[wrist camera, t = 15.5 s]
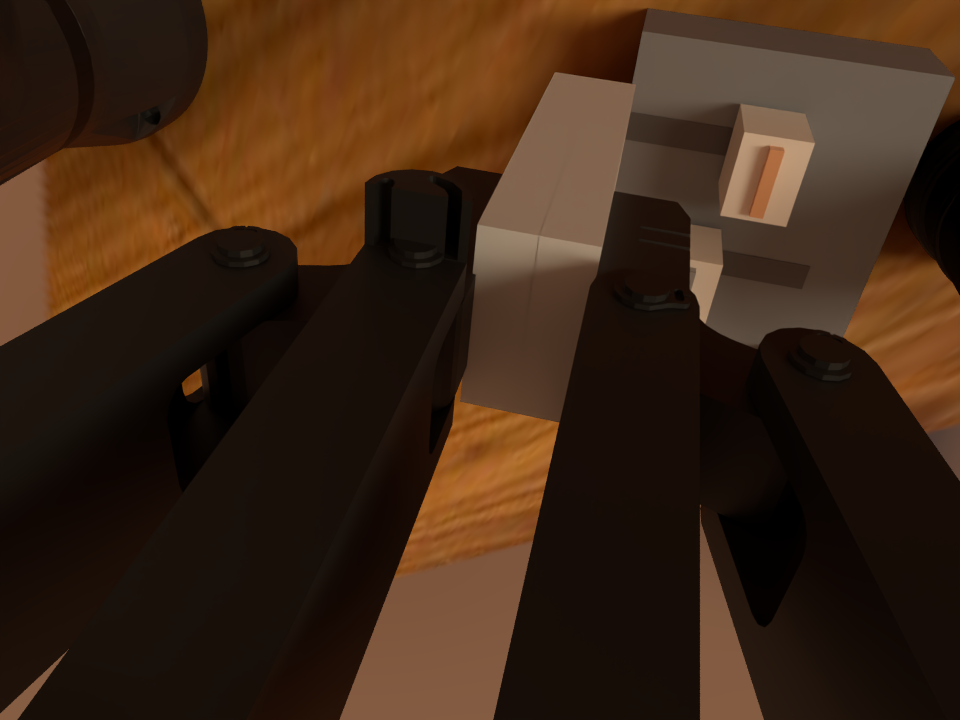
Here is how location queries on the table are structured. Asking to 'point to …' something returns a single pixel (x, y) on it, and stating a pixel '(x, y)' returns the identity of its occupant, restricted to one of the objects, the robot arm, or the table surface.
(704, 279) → the knob mid
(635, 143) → the switch unit
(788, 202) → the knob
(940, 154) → the container
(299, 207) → the table surface
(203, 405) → the robot arm
